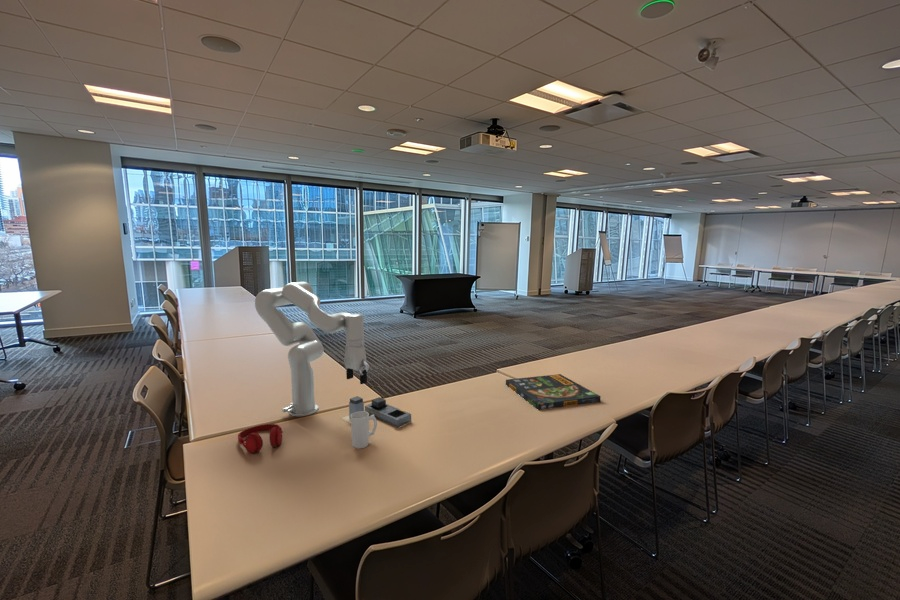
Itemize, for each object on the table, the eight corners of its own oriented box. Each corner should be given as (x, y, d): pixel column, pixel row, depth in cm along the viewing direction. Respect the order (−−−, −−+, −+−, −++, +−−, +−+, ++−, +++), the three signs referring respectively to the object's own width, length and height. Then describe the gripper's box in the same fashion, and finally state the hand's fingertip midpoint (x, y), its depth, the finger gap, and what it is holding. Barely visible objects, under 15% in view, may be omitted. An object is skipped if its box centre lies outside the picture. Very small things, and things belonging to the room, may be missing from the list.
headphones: (288, 445, 143) (275, 432, 159) (287, 427, 143) (273, 416, 159) (245, 458, 134) (235, 443, 150) (243, 438, 134) (233, 425, 150)
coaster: (354, 426, 160) (354, 425, 160) (340, 419, 166) (340, 418, 166) (372, 418, 167) (372, 417, 167) (359, 412, 174) (359, 411, 174)
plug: (355, 421, 164) (355, 401, 162) (349, 418, 167) (348, 398, 165) (364, 417, 167) (363, 398, 166) (357, 414, 170) (357, 395, 169)
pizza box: (505, 385, 211) (505, 379, 211) (559, 380, 222) (560, 374, 221) (538, 411, 178) (538, 404, 178) (600, 403, 188) (600, 396, 188)
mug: (353, 450, 140) (353, 420, 139) (349, 442, 146) (348, 413, 145) (379, 444, 145) (379, 414, 144) (374, 436, 151) (374, 408, 150)
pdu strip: (397, 428, 159) (397, 413, 158) (364, 413, 173) (364, 399, 172) (411, 421, 165) (411, 407, 164) (378, 407, 179) (378, 394, 178)
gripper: (336, 341, 165) (337, 379, 167) (360, 347, 154) (361, 387, 156) (350, 338, 171) (352, 374, 173) (374, 343, 160) (376, 382, 162)
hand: (356, 380), depth 164 cm, fingers open, 9 cm apart
